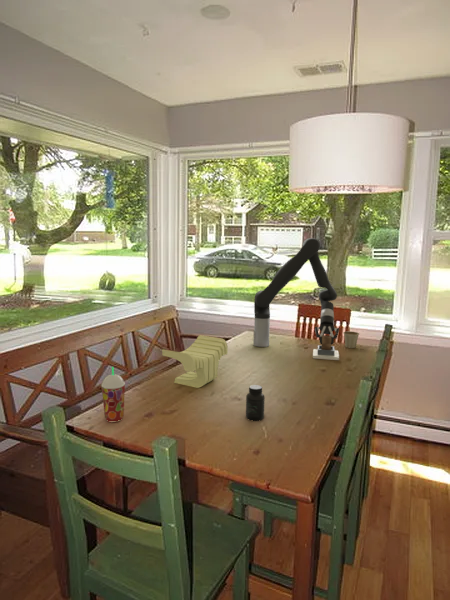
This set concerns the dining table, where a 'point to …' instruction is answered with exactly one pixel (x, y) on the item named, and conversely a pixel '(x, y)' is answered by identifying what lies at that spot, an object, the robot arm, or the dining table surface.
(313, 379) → the dining table surface
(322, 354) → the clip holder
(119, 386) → the smoothie
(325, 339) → the walnut block
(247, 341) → the dining table surface
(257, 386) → the supplement bottle
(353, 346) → the flower pot
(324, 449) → the dining table surface
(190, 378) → the slatted curved stool
